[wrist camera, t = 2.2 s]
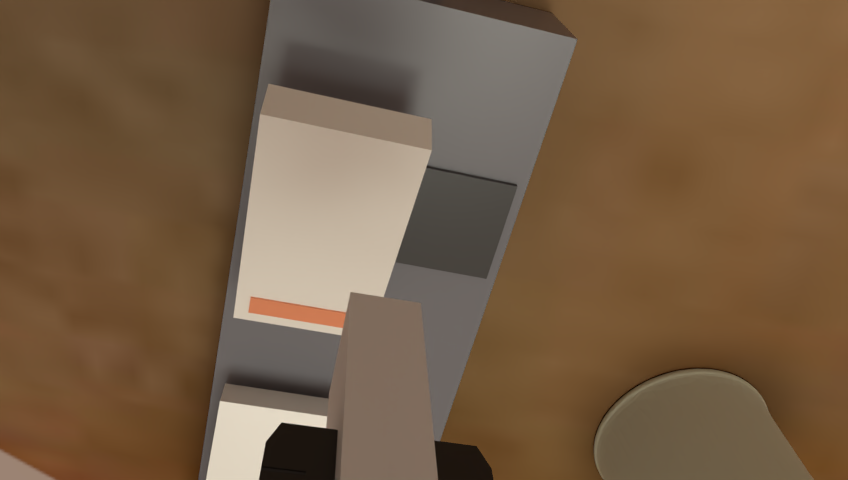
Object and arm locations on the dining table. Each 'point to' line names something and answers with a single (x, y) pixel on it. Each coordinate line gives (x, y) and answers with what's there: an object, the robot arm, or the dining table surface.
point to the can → (694, 432)
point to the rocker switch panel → (444, 176)
